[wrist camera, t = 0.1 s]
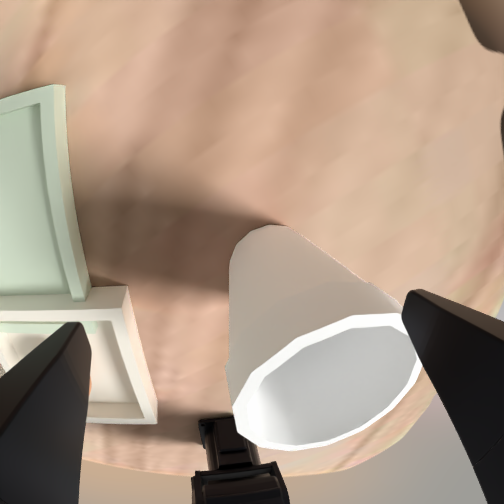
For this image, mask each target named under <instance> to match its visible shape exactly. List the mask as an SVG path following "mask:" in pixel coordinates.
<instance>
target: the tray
mask: <svg viewBox="0 0 504 504" xmlns="http://www.w3.org/2000/svg"><path fill="white" fill-rule="evenodd" d="M91 288H92V286H91V282H90V278H89V274H88V270H87V265H86V261H85V256H84V252H83V247H82V242H81V237H80V232H79V226H78V221H77V215H76V209H75V202H74V196H73V189H72V181H71V173H70V163H69V153H68V141H67V126H66V99H65V85H58V84H52V85H48V86H44V87H40V88H36V89H32V90H29V91H25V92H22V93H19V94H15V95H12V96H9V97H6V98H3V99H0V296H12V295H47V294H71V295H72V298H73V302H86V299H87V297H88V295H89V293H90V290H91ZM66 322H81V323H82V324H83V326H84V329H85V332H86V334H96V331H97V328H98V324H97V321H0V332H3V333H31V334H53V333H54V332H55V331H56V330H57V329H59V328H60V327H61V326H62V325H64V324H65V323H66Z"/></svg>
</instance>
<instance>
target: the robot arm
mask: <svg viewBox="0 0 504 504" xmlns="http://www.w3.org/2000/svg"><path fill="white" fill-rule="evenodd" d="M401 319H402V322H403V324H404V326H405V329H406V331H407V333H408V335H409V337H410V340H411V342H412V344H413V346H414V349H415V351H416V353H417V355H418V357H419V360H420V362H421V363H422V365H423V367H424V369H425V371H426V373H427V375H428V376H429V378H430V380H431V382H432V384H433V386H434V388H435V389H436V391H437V393H438V395H439V397H440V399H441V401H442V403H443V405H444V407H445V409H446V410H447V413H448V415H449V417H450V419H451V421H452V423H453V425H454V427H455V429H456V431H457V433H458V435H459V437H460V440H461V442H462V444H463V446H464V448H465V450H466V452H467V455H468V457H469V459H470V461H471V464H472V466H473V469H474V471H475V473H476V476H477V478H478V481H479V483H480V486H481V488H482V491H483V493H484V496H485V498H486V501H487V504H504V322H503V321H501V320H498V319H496V318H493V317H491V316H489V315H486V314H484V313H481V312H479V311H476V310H474V309H471V308H469V307H466V306H464V305H461V304H459V303H456V302H454V301H451V300H448V299H446V298H443V297H441V296H438V295H436V294H433V293H431V292H428V291H425V290H423V289H416V290H411V291H409V292H408V294H407V296H406V300H405V303H404V306H403V310H402V313H401ZM91 358H92V350H91V346H90V343H89V340H88V337H87V334H86V332H85V329H84V326H83V324H82V323H81V322H66V323H65V324H64V325H62V326H61V327H60V328H59V329H57V330H56V331H55V332H54V333H53V334H51V335H50V336H49V337H48V338H46V339H45V340H44V341H43V342H42V343H40V344H39V345H38V346H37V347H36V348H34V349H33V350H32V351H31V352H30V353H28V354H27V355H26V356H25V357H24V358H23V359H21V360H20V361H19V362H18V363H17V364H16V365H14V366H13V367H12V368H11V369H10V370H9V371H8V372H6V373H5V374H4V375H3V376H2V377H1V378H0V504H78V499H79V483H80V470H81V459H82V449H83V441H84V433H85V425H86V418H87V411H88V402H89V385H90V370H91ZM198 425H199V430H200V435H201V439H202V444H203V448H204V449H206V454H207V461H208V469H209V471H195V476H193V477H191V482H192V504H290V500H289V495H288V491H287V488H286V485H285V483H284V480H283V478H282V475H281V473H280V470H279V468H278V465H277V463H276V461H274V462H271V463H266V464H261V462H260V458H259V454H258V450H257V446H256V444H254V443H253V442H251V441H250V440H248V439H247V438H245V437H244V436H242V435H241V434H239V433H238V432H237V427H236V423H235V418H234V417H228V418H218V419H207V420H200V421H198Z"/></svg>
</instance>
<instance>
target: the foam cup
mask: <svg viewBox="0 0 504 504" xmlns="http://www.w3.org/2000/svg"><path fill="white" fill-rule="evenodd" d="M402 310H403V307H402V306H401V305H400V304H399V302H398V301H397V300H396V299H394V298H393V297H391V296H390V295H388V294H387V293H385V292H384V291H382V290H381V289H379V288H378V287H376V286H375V285H373V284H372V283H370V282H365V281H364V280H363V279H361V278H360V277H359V276H357V275H356V274H355V273H353V272H352V271H351V270H349V269H348V268H347V267H345V266H344V265H343V264H341V263H340V262H339V261H337V260H336V259H334V258H333V257H332V256H330V255H329V254H328V253H326V252H325V251H323V250H322V249H321V248H319V247H318V246H317V245H315V244H314V243H312V242H311V241H310V240H308V239H307V238H305V237H304V236H302V235H301V234H299V233H298V232H296V231H294V230H293V229H291V228H290V227H288V226H279V225H266V226H264V227H261V228H258V229H255V230H252V231H250V232H249V233H248V234H247V235H246V236H245V237H244V238H243V239H242V240H240V241H239V242H238V243H237V244H236V246H235V249H234V251H233V254H232V256H231V259H230V265H229V359H228V361H227V363H226V365H225V371H226V376H227V382H228V387H229V393H230V398H231V404H232V409H233V413H234V418H235V423H236V427H237V432H238V433H239V434H241V435H242V436H244V437H245V438H247V439H248V440H250V441H251V442H253V443H254V444H256V445H257V446H259V447H262V448H270V449H277V450H286V451H296V450H303V449H309V448H315V447H320V446H326V445H329V444H332V443H334V442H337V441H339V440H341V439H344V438H346V437H349V436H351V435H353V434H356V433H358V432H360V431H362V430H364V429H365V428H367V427H368V426H370V425H371V424H372V423H374V422H375V421H377V420H378V419H380V418H381V417H382V416H384V415H385V414H386V413H388V412H389V411H390V410H392V409H393V408H394V407H395V406H396V405H397V403H398V402H399V401H400V400H401V399H402V398H403V397H404V395H405V394H406V393H407V392H408V391H409V389H410V388H411V387H412V386H413V385H414V383H415V382H416V380H417V378H418V375H419V373H420V370H421V368H422V363H421V362H420V360H419V357H418V355H417V353H416V351H415V349H414V346H413V344H412V342H411V340H410V337H409V335H408V333H407V331H406V329H405V326H404V324H403V322H402V319H401V313H402Z"/></svg>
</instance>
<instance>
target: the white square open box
mask: <svg viewBox="0 0 504 504" xmlns="http://www.w3.org/2000/svg"><path fill="white" fill-rule="evenodd" d="M0 321H97V324H98V328H97V331H96V334H87V337H88V340H89V343H90V346H91V350H92V358H91V370H90V376H91V382H92V387H91V392H90V395H89V402H88V411H87V418H86V423H104V424H157V409H158V400H157V397H156V394H155V391H154V388H153V384H152V381H151V378H150V374H149V371H148V367H147V364H146V360H145V357H144V353H143V349H142V345H141V341H140V338H139V334H138V330H137V325H136V321H135V317H134V313H133V308H132V304H131V299H130V294H129V289H128V285H125V286H107V287H92V288H91V290H90V293H89V295H88V297H87V299H86V302H73V298H72V295H71V294H47V295H12V296H0ZM50 335H51V334H31V333H3V332H0V363H1V365H2V367H3V369H4V370H5V372H8V371H9V370H10V369H11V368H12V367H13V366H14V365H16V364H17V363H18V362H19V361H20V360H21V359H23V358H24V357H25V356H26V355H27V354H28V353H30V352H31V351H32V350H33V349H34V348H36V347H37V346H38V345H39V344H40V343H42V342H43V341H44V340H45V339H46V338H48V337H49V336H50Z"/></svg>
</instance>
